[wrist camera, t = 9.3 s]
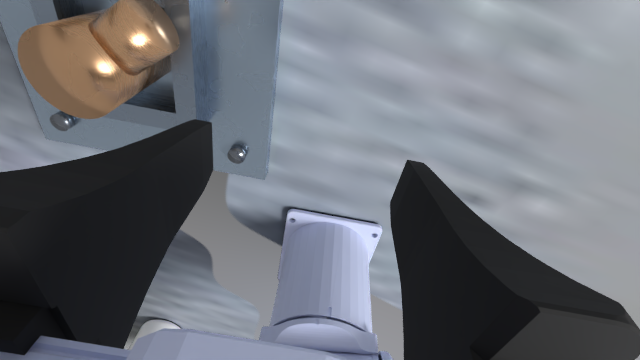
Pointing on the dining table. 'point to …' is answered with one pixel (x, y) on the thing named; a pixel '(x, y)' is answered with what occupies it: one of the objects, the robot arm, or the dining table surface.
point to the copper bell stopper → (98, 56)
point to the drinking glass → (153, 328)
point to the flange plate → (180, 79)
